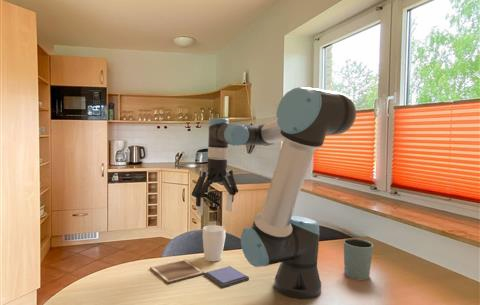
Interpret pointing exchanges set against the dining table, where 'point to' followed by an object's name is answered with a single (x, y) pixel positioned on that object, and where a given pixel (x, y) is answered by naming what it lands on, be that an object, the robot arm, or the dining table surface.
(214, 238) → the cup
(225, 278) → the ink pad
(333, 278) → the dining table surface
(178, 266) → the marked board
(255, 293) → the dining table surface
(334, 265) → the dining table surface
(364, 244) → the green tumbler
